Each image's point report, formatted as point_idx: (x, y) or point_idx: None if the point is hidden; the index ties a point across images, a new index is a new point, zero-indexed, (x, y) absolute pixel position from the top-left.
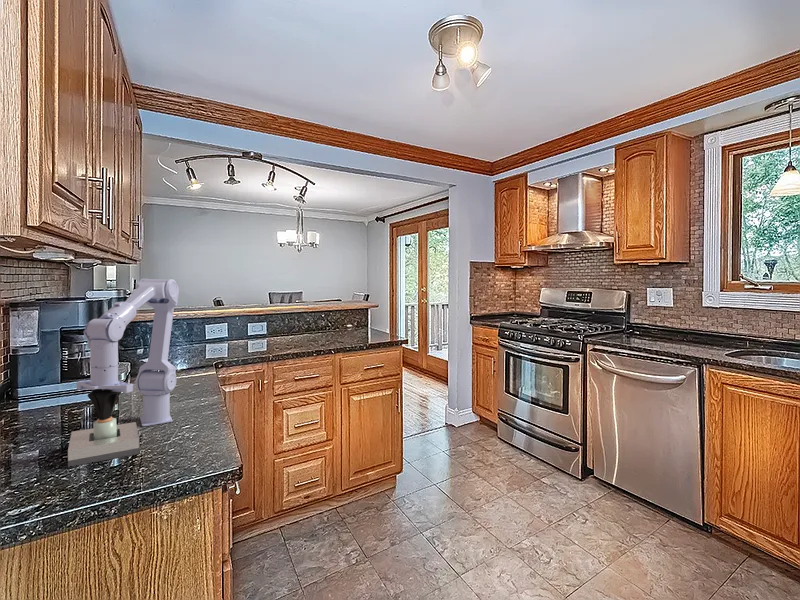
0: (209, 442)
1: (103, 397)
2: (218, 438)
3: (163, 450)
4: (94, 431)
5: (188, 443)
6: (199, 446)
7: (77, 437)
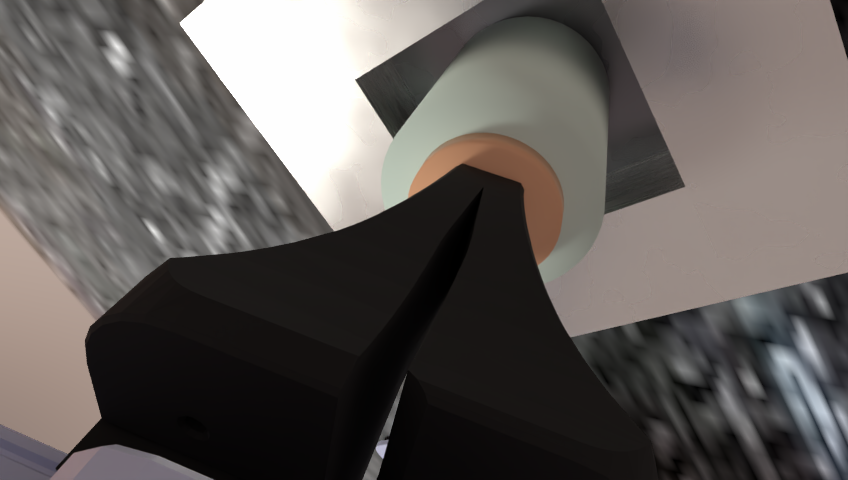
0: (19, 144)
1: (170, 262)
2: (23, 193)
3: (153, 45)
4: (568, 84)
5: (103, 144)
6: (19, 92)
7: (768, 80)
